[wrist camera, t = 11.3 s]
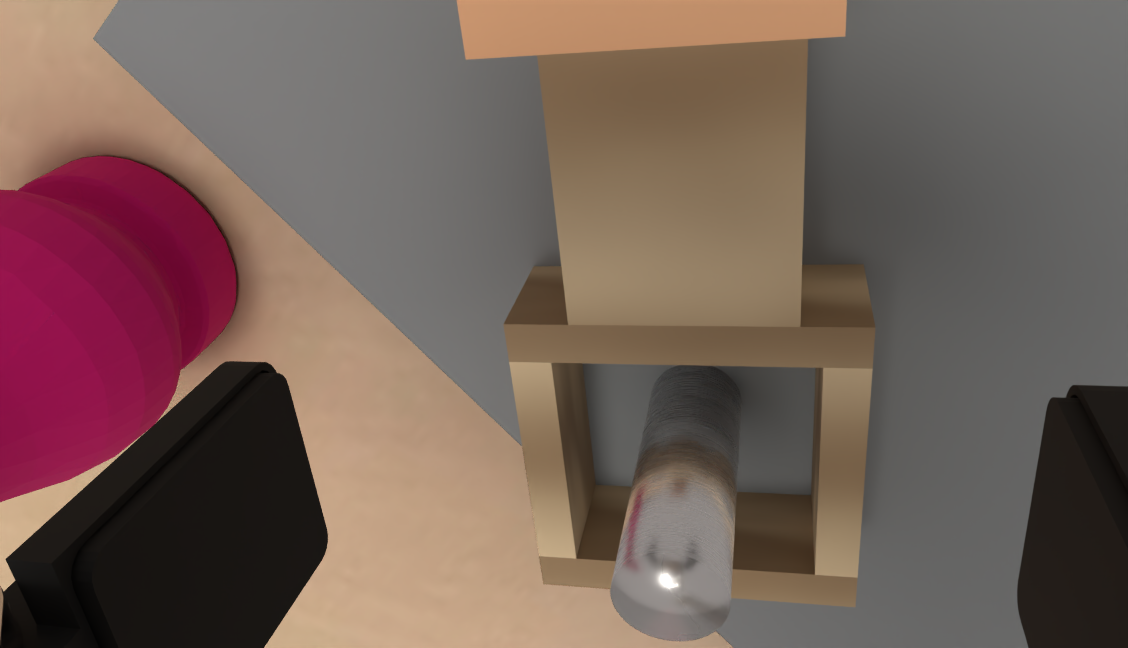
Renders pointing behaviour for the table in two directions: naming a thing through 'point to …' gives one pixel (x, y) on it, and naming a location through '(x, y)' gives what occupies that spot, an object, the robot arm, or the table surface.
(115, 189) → the pepper mill
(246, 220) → the table surface
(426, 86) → the board
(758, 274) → the link
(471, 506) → the table surface
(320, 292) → the table surface
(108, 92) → the table surface
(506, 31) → the keeper
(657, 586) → the grey rounded rod
